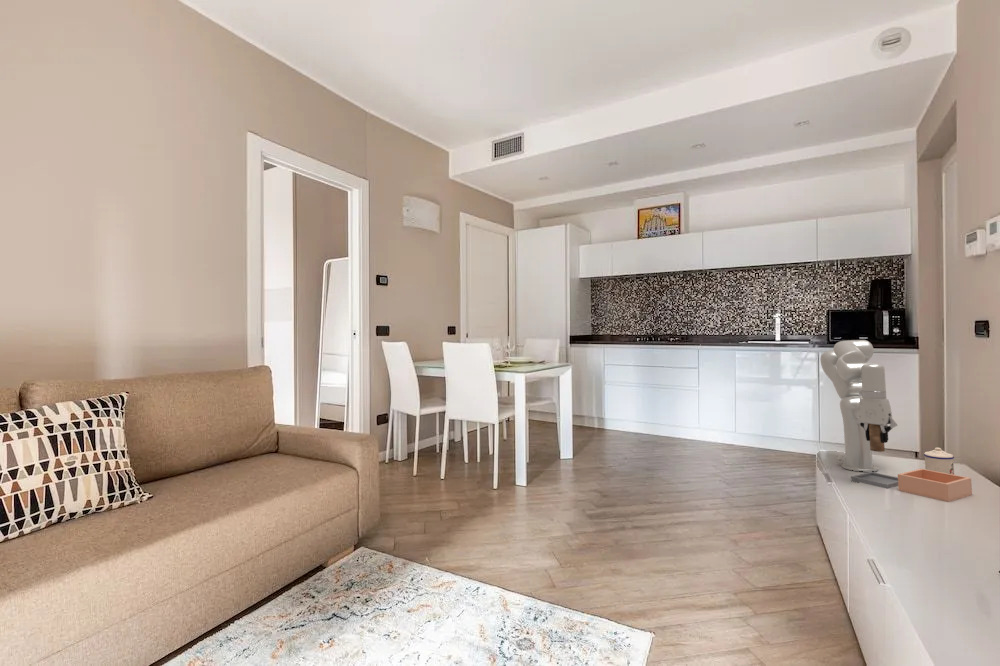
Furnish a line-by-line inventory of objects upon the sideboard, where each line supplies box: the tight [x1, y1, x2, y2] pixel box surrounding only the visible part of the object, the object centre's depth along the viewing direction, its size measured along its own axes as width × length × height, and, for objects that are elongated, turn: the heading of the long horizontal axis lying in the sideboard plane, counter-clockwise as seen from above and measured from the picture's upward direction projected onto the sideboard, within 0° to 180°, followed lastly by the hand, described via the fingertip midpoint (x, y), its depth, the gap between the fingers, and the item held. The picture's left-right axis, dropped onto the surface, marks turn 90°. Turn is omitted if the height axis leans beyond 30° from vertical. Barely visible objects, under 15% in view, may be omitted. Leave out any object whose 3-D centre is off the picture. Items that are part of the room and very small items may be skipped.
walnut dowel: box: [869, 424, 886, 453], centre depth 190 cm, size 4×4×11 cm
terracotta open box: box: [897, 468, 973, 503], centre depth 175 cm, size 15×15×6 cm
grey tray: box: [850, 471, 898, 489], centre depth 190 cm, size 13×13×2 cm
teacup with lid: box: [923, 447, 955, 475], centre depth 196 cm, size 12×9×12 cm
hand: (876, 440), depth 190 cm, fingers closed on walnut dowel, 4 cm apart
